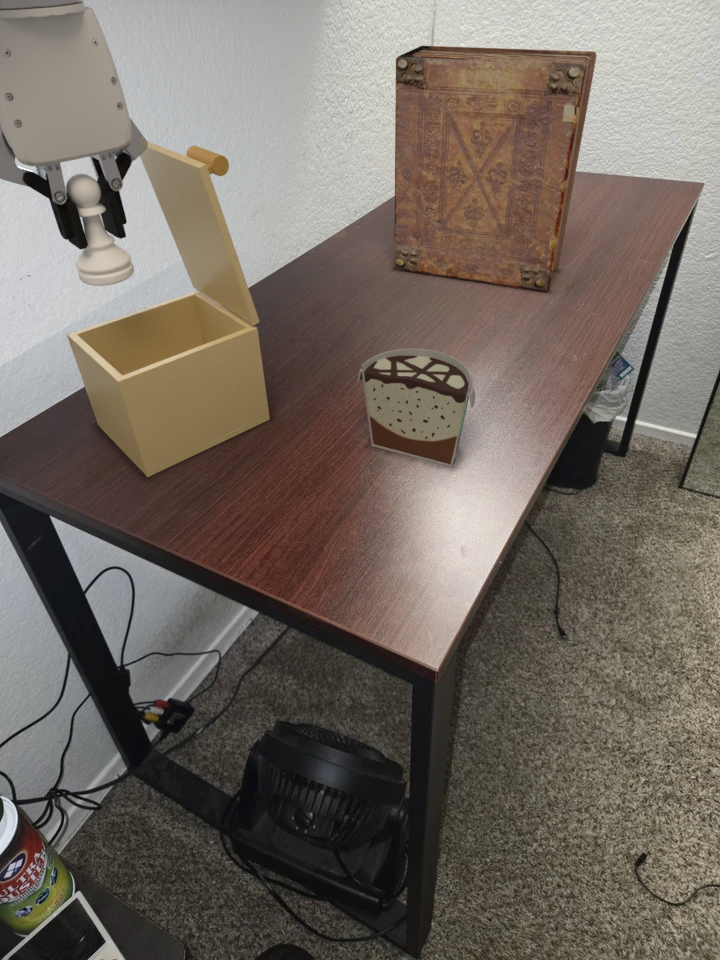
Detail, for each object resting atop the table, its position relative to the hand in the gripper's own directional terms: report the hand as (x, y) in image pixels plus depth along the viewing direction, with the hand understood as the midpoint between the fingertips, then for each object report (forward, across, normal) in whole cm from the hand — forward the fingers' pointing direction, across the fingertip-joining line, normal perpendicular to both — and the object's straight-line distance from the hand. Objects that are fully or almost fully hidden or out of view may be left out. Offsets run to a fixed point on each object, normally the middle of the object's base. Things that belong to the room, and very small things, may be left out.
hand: (96, 237), depth 60 cm
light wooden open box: (+23, -4, 0) cm, 23 cm away
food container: (+23, -22, +21) cm, 38 cm away
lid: (+2, -10, 0) cm, 10 cm away
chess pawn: (+4, 0, 0) cm, 4 cm away
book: (+23, -61, -6) cm, 65 cm away
